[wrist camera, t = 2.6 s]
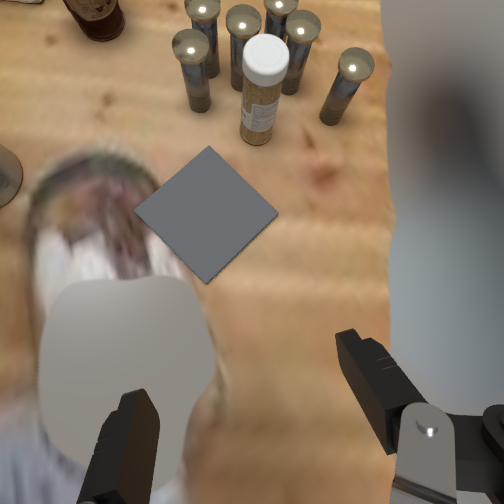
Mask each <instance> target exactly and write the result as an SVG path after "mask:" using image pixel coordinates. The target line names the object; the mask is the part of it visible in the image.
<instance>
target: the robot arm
mask: <svg viewBox="0 0 504 504" xmlns="http://www.w3.org/2000/svg"><path fill="white" fill-rule="evenodd" d="M21 180H22V168H21V165H20V162H19V160H18V159H17V157H16V156H15V155H14V154H13V153H12V152H11V151H9V150H8V149H7V148H5V147H4V146H2V145H1V144H0V207H1V206H3V205H4V204H6V203H7V202H9V201H10V200H11V199H12V198H13V197H14V195H15V194H16V192H17V191H18V189H19V187H20V184H21ZM335 338H336V345H337V352H338V359H339V364H340V367H341V370H342V372H343V374H344V376H345V378H346V380H347V382H348V384H349V386H350V387H351V389H352V391H353V393H354V395H355V397H356V399H357V400H358V402H359V404H360V406H361V408H362V410H363V412H364V413H365V415H366V417H367V419H368V421H369V423H370V425H371V426H372V428H373V430H374V432H375V434H376V436H377V437H378V439H379V441H380V443H381V445H382V447H383V449H384V450H385V452H386V454H387V455H390V454H394V453H396V454H397V461H396V469H395V477H394V480H393V482H392V488H391V495H390V504H457V499H456V490H460V491H471V492H481V493H486V495H487V496H488V498H489V499H490V501H491V502H492V504H504V405H492V406H490V407H488V408H487V409H486V410H485V411H484V413H483V416H467V415H453V414H448V413H445V412H443V411H442V410H441V409H439V408H437V407H435V406H433V405H430V404H429V403H428V402H427V401H426V400H425V399H424V398H423V396H422V395H421V394H420V393H419V392H418V390H417V389H416V387H415V386H414V385H413V384H412V382H411V381H410V380H409V379H408V377H407V376H406V375H405V373H404V372H403V371H402V370H401V368H400V367H399V366H398V365H397V363H396V362H395V361H394V359H393V358H392V357H391V356H390V354H389V353H388V352H387V350H386V349H385V348H384V346H383V345H382V344H380V343H378V342H377V341H375V340H374V339H372V338H367V339H364V340H362V339H361V338H360V336H359V335H358V333H357V332H356V331H355V330H354V329H349V330H346V331H342V332H339V333H336V334H335ZM159 431H160V419H159V415H158V412H157V410H156V409H155V407H154V405H153V403H152V402H151V400H150V398H149V396H148V394H147V392H146V391H145V390H144V389H139V390H135V391H132V392H129V393H125V394H123V395H122V397H121V400H120V403H119V407H118V410H116V411H113V412H111V413H110V415H109V416H108V418H107V419H106V421H105V423H104V424H103V425H102V428H101V431H100V434H99V437H98V443H96V446H95V449H94V455H92V458H91V461H90V464H89V467H88V470H87V473H86V476H85V479H84V482H83V485H82V488H81V491H80V494H79V497H78V500H77V503H76V504H149V501H150V494H151V487H152V480H153V473H154V466H155V460H156V453H157V445H158V439H159Z"/></svg>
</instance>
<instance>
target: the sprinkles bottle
mask: <svg viewBox="0 0 504 504" xmlns="http://www.w3.org/2000/svg"><path fill="white" fill-rule="evenodd" d="M288 64H289V50H288V48H287V46H286V44H285V43H284V42H283V41H282V40H281V39H280V38H278V37H276V36H274V35H271V34H259V35H256V36H254V37H252V38H251V39H250V40H249V41H248V42H247V43H246V45H245V47H244V50H243V60H242V67H243V72H244V78H243V79H244V80H243V91H242V107H241V125H240V134H241V136H242V138H243V139H244V140H245V141H246V142H248V143H250V144H252V145H261V144H264V143H266V142H267V141H268V140H269V139H270V137H271V134H272V126H273V123H274V120H275V115H276V111H277V107H278V103H279V98H280V94H281V87H282V83H283V78H284V77H285V75H286V72H287V68H288Z"/></svg>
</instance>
